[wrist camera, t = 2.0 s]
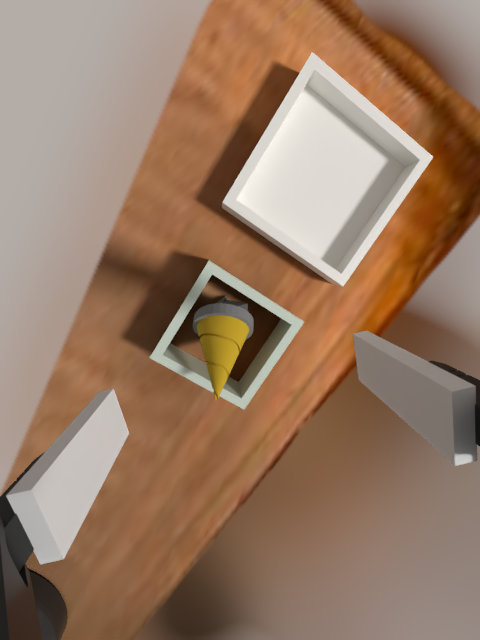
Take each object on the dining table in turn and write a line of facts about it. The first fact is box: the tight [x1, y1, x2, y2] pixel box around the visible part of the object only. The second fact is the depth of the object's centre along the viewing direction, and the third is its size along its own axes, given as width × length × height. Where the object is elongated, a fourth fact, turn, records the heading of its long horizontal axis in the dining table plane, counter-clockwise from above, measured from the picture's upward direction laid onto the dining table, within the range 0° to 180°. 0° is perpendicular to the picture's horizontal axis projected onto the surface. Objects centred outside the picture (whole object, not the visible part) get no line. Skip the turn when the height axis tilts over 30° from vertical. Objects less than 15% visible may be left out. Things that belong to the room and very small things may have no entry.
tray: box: [222, 52, 433, 286], centre depth 24 cm, size 13×13×2 cm
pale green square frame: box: [150, 260, 304, 409], centre depth 26 cm, size 10×10×4 cm
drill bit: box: [193, 296, 254, 400], centre depth 24 cm, size 5×5×10 cm
